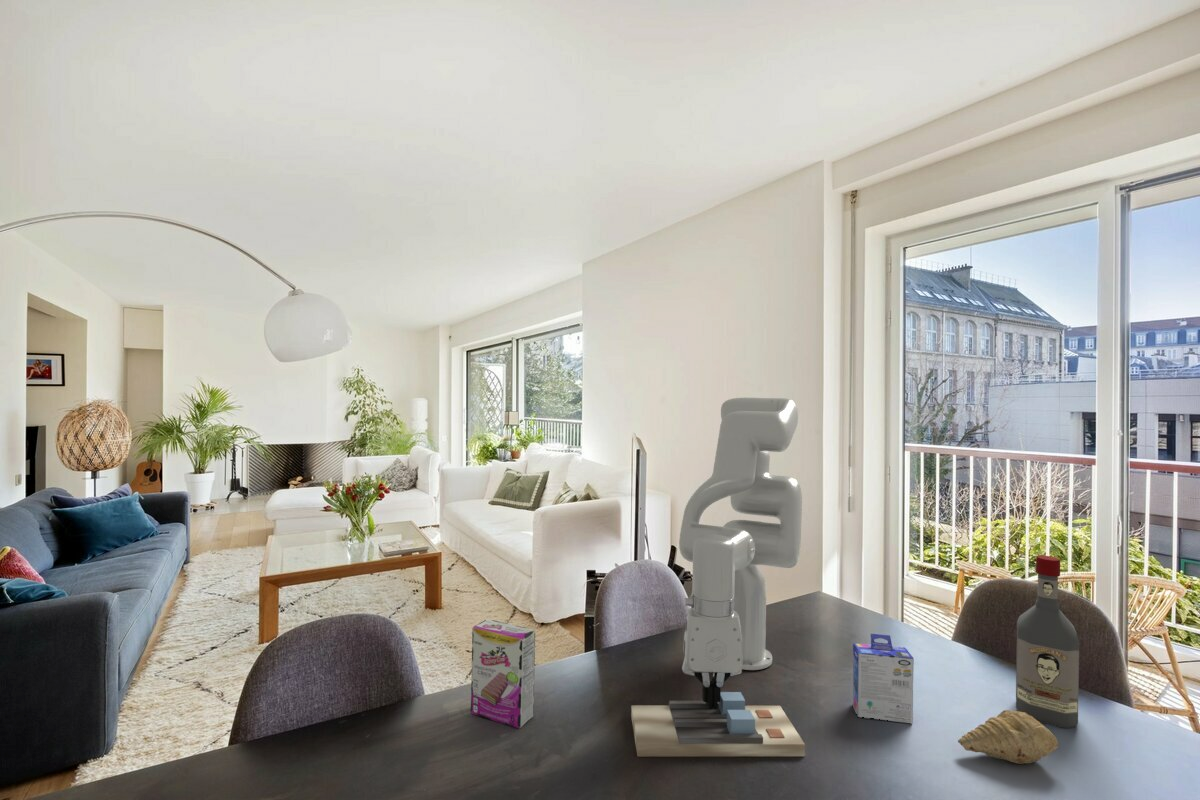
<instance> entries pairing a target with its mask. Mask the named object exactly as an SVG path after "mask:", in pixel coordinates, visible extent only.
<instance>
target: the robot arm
mask: <svg viewBox="0 0 1200 800" xmlns="http://www.w3.org/2000/svg"><path fill="white" fill-rule="evenodd" d="M720 417H721V423H720V426H719V432H718V439H717V445H716V451H715V457H714V463H713V471H712V475H710V477H709V478H708V479H707V480H705V481H704V482H703V483H702V484H701V485H700V486H699V487H698V488H697V489H696V490H695V491H694V493H692V495H691V496H690V498H689V499H688V501H687V503H686V505H685V508H684V512H683V516H682V520H681V525H680V526H681V527H680V532H679V539H678V540H679V541H678V543H679V544H678V547H679V548H678V549H679V552H680V554H681V557H682V558H683V559H684V560H686V561H687V562H689V563H692V582H691V583H692V584H691V587H692V588H691V590H692V591H691V595H689V596H688V597H684V599H683V603H684V606H685V607H686V606H687V607H689V609H688V612H687V616H686V621H685V628H684V636H683V648H682V649H683V650H682V652H683V653H682V654H683V655H682V656H683V662H682V666H681V670H682V672H683V674H685V675H689V676H695V678H697V679H698V681H699V682H700V683H702V691H701V692H702V695H701V696H702V701H703V702H706V704H707V707H708V709H712V708H714V709H717V707H718V702H720V695H721V692H722V691H721V688H722V687H723V685H724V683H725V682H726V681H728V679H729V678H730V677H733V676H737V675H740V674H742V671H743V670H745V671H759V670H763V669H766V668H768V667H770V666H771V665H772V664H773V655H772V653H771V651H769V650H768V649H766V639H767V638H766V636H767V635H766V631H767V582H766V580H765V576H764V574H763V573H762V571H761V570H760V568H759V567H758V566H765V567H766V566H767V567H772V568H773V567H774V568H781V569H791V568H795V567H796V566H797V565H798V563H799V561H800V556H801V546H802V545H801V544H802V542H801V541H802V519H803V518H802V515H803V514H802V513H803V494H802V488H801V485H800V483H799V482H798V481H797V479H796V478H794V477H790V476H785V475H775V474H774V475H772V474H771V473H770V462H771V461H770V458H771V456H770V453H771V452H773V453H781V452H784V451H787V449H788V448H789V447H790V444H791V443H792V440H793V436H794V434H795V431H796V430H797V425H798V423H799V422H798V421H799V411H798V407H797V405H796V402H795V401H793V400H792V399H789V398H783V397H782V398H781V397H734V398H730V399H726V400H725V401H724V402H723V403H722V404H721V407H720ZM728 497H730V504H731V508H732V509H733V510H734V511H735V512H737V513H739V514H743V515H750V516H761V517H771V518H776V519H778V520H779V523H775V522H765V521H758V520H757V521H756V520H746V519H733V520H730V521H727V522H726V523H724V525H723V526H720V525H710V524H701V523H700V521H701V517H702V515H703V513H704V512H705V510H707V509H708V508H709V507H710V506H711V505H712V504H714V503H715V502H719V501H720V500H723V499H725V498H728ZM709 673H712V677H711V680H710V674H709Z"/></svg>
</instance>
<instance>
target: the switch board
mask: <svg viewBox="0 0 1200 800" xmlns="http://www.w3.org/2000/svg"><path fill="white" fill-rule="evenodd" d="M630 709H631V710H630V711H631V713H630V716H631V722H632V723H631V724H632V731H633V736H634V743H635V749H636V755H637V757H805V756H806V744H805V742H804V741H803V739H802V737H801V735H800V734H799V732H797V730H796V728H795V726H794V725H793V724H792V722H791V720H790V719H789V717H788V716H787V714H786V712H785V711H784V710H783V708H782V706H781V705H745V710H750V711H751V713H752V715H753V716H754V718H755V734H730V733H729V731H728V729H727V714H721V712H720V710H719V702H718V707H717V709H714V708H712V709H708V707H707V704H706V702H703V700H669V701H668V705H665V704H664V705H660V704H659V705H657V704H656V705H654V704H652V705H650V704H649V705H648V704H647V705H644V704H643V705H641V704H638V705H637V704H636V705H635V704H634V705H631V707H630Z"/></svg>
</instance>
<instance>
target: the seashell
mask: <svg viewBox="0 0 1200 800" xmlns="http://www.w3.org/2000/svg"><path fill="white" fill-rule="evenodd" d="M957 742H958V743H959V744H960V746H962V747H963V748H964V750H966V751H968V752H974V753H982V754H985V755H986V756H989V757H992V758H995V759H1001V760H1004V761H1008V762H1011V763H1015V764H1017V765H1019V764H1020V765H1021V764H1022V765H1024V764H1031V763H1036V762H1037V761H1039V760H1041V759H1042V758H1044V757H1048V756H1049V755H1050V753H1052V752H1054V751H1056V750H1057V749H1058V746H1059V741H1058V739H1057V737H1056V735H1054V734H1053V733H1052V731H1050V729H1048V728H1047V727H1046V726H1045V725H1044V724H1042V722H1039V721H1037V720H1036V719H1035V718H1033V717H1032V716H1030V715H1028V714H1027V713H1025V712H1019V711H1018V710H1010V709H1009V710H1008V709H1007V710H1005V709H1004V710H1003V711H1001V712H1000V713H998V715H997V716H991V717H989V718H988V719H987V720H985V722H984V724H983V723H982V724H979V725H978V726H977V727H975V728H974V729H971V730H970V731H968V732H967V733H966V734H963V735H962V736H961V737H960V738H959V739H958V740H957Z"/></svg>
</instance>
